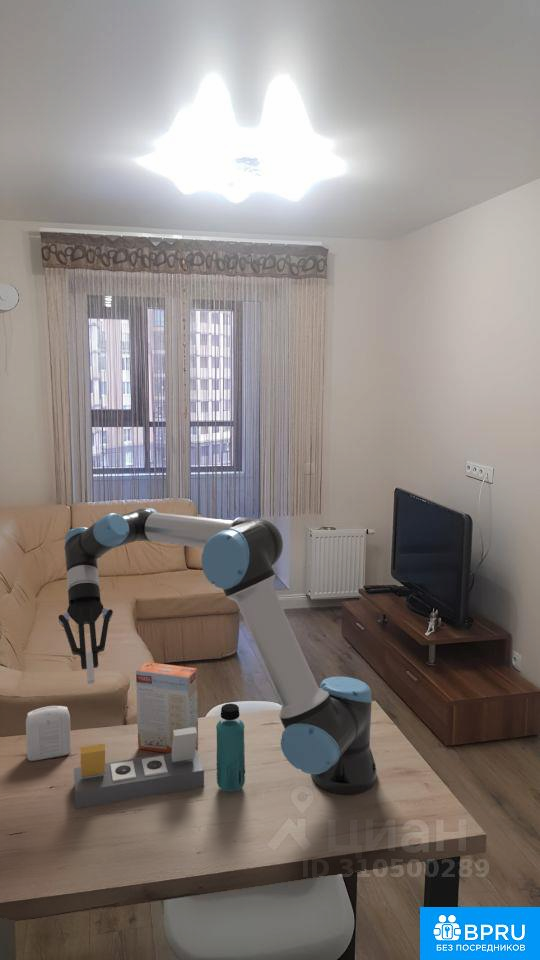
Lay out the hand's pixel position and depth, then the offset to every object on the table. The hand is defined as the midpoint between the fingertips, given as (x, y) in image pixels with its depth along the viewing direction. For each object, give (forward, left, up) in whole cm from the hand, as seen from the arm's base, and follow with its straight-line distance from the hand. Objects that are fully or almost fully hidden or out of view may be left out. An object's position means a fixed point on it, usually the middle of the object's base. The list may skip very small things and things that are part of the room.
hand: (91, 681), depth 160 cm
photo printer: (+12, +7, -22) cm, 26 cm away
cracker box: (0, -19, -22) cm, 29 cm away
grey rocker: (-14, -16, -17) cm, 27 cm away
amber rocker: (-9, +3, -17) cm, 20 cm away
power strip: (-11, -7, -22) cm, 26 cm away
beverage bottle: (-23, -24, -22) cm, 40 cm away
